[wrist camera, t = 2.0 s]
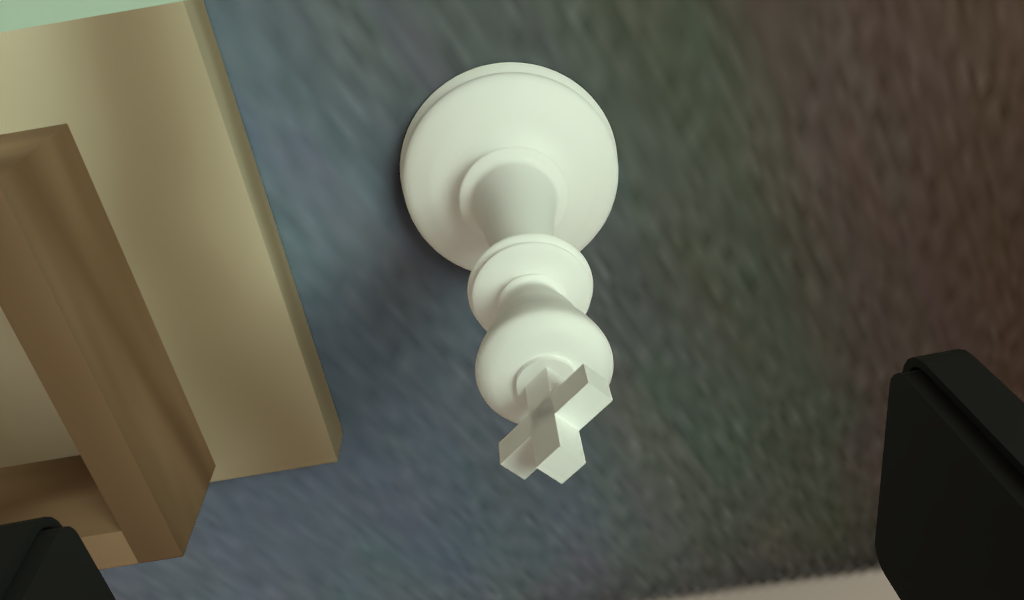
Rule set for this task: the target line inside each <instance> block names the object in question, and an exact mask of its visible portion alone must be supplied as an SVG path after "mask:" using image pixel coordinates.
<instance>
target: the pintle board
mask: <svg viewBox="0 0 1024 600" xmlns="http://www.w3.org/2000/svg"><path fill="white" fill-rule="evenodd" d="M342 434H343V430H342V427H341V424H340V421H339V418H338V415H337V412H336V409H335V406H334V403H333V400H332V397H331V393H330V390H329V387H328V384H327V381H326V378H325V375H324V372H323V369H322V366H321V363H320V359H319V356H318V353H317V350H316V347H315V344H314V341H313V338H312V335H311V332H310V329H309V326H308V322H307V319H306V316H305V313H304V310H303V307H302V304H301V301H300V298H299V295H298V292H297V289H296V285H295V282H294V279H293V276H292V273H291V270H290V267H289V264H288V261H287V258H286V255H285V251H284V248H283V245H282V242H281V239H280V236H279V233H278V230H277V227H276V224H275V221H274V218H273V214H272V211H271V208H270V205H269V202H268V199H267V196H266V193H265V190H264V187H263V184H262V181H261V177H260V174H259V171H258V168H257V165H256V162H255V159H254V156H253V153H252V150H251V147H250V143H249V140H248V137H247V134H246V131H245V128H244V125H243V122H242V119H241V116H240V113H239V110H238V106H237V103H236V100H235V97H234V94H233V91H232V88H231V85H230V82H229V79H228V76H227V73H226V69H225V66H224V63H223V60H222V57H221V54H220V51H219V48H218V45H217V42H216V39H215V35H214V32H213V29H212V26H211V23H210V20H209V17H208V14H207V11H206V8H205V5H204V2H203V0H186V1H180V2H174V3H168V4H162V5H157V6H151V7H145V8H139V9H133V10H127V11H122V12H116V13H110V14H104V15H98V16H93V17H87V18H81V19H75V20H69V21H63V22H58V23H52V24H46V25H40V26H34V27H29V28H23V29H17V30H11V31H5V32H0V525H2V524H8V523H13V522H19V521H24V520H30V519H35V518H41V517H53V518H54V519H56V520H58V521H59V523H60V524H61V525H62V526H63V527H64V526H70V527H72V528H73V529H75V530H76V532H77V533H78V534H79V536H80V538H81V540H82V541H83V543H84V545H85V547H86V548H87V550H88V552H89V554H90V555H91V557H92V559H93V561H94V562H95V564H96V566H97V568H98V569H99V570H101V569H107V568H113V567H120V566H126V565H132V564H138V563H144V562H151V561H157V560H163V559H169V558H176V557H182V556H183V555H184V552H185V550H186V547H187V544H188V541H189V538H190V536H191V533H192V530H193V527H194V525H195V522H196V519H197V516H198V514H199V511H200V508H201V505H202V503H203V500H204V497H205V494H206V491H207V489H208V486H209V483H210V482H215V481H221V480H227V479H234V478H240V477H246V476H252V475H258V474H264V473H271V472H277V471H283V470H289V469H295V468H302V467H308V466H314V465H320V464H326V463H332V462H338V457H339V452H340V446H341V440H342Z"/></svg>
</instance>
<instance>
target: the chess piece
mask: <svg viewBox="0 0 1024 600" xmlns="http://www.w3.org/2000/svg"><path fill="white" fill-rule="evenodd" d="M400 179H401V186H402V191H403V195H404V198H405V202H406V206H407V209H408V211H409V214H410V216H411V219H412V220H413V222H414V224H415V226H416V228H417V229H418V231H419V232H420V234H421V235H422V236H423V238H424V239H425V240H426V241H427V242H428V243H429V245H430V246H432V247H433V248H434V249H435V250H436V251H437V252H438V253H439V254H441V255H442V256H443V257H445V258H446V259H448V260H449V261H451V262H453V263H454V264H456V265H458V266H460V267H462V268H465V269H467V270H470V271H471V273H470V276H469V280H468V287H467V295H468V301H469V305H470V308H471V310H472V312H473V314H474V316H475V318H476V319H477V320H478V322H479V323H480V324H481V326H482V327H483V328H484V329H485V330H486V331H487V333H486V335H485V337H484V339H483V341H482V343H481V345H480V348H479V351H478V354H477V357H476V363H475V377H476V383H477V386H478V389H479V391H480V393H481V395H482V397H483V399H484V400H485V402H486V403H487V404H488V405H489V406H490V407H491V408H492V409H493V410H494V411H495V412H496V413H498V414H499V415H501V416H502V417H504V418H506V419H508V420H510V421H512V422H515V423H518V425H517V426H516V427H515V428H514V429H513V430H512V431H511V432H510V433H509V434H508V435H507V436H506V437H504V438H503V439H502V440H501V441H500V442H499V455H500V465H502V466H504V467H505V468H507V469H508V470H510V471H512V472H513V473H515V474H516V475H518V476H520V477H521V478H523V479H524V480H525V479H526V478H527V477H528V476H529V475H530V474H532V473H533V472H534V471H535V470H536V469H537V468H538V469H539V470H541V471H542V472H544V473H546V474H547V475H549V476H550V477H552V478H553V479H555V480H556V481H558V482H560V483H561V484H563V483H564V482H565V481H566V480H567V479H568V478H569V477H570V476H572V475H573V474H574V473H575V472H576V471H577V470H578V469H580V468H581V467H582V466H583V465H584V464H585V463H586V461H585V456H584V452H583V447H582V442H581V438H580V433H579V430H580V429H581V428H583V427H584V426H585V425H586V424H587V423H588V422H589V421H590V420H591V419H592V418H594V417H595V416H596V415H597V414H598V413H599V412H600V411H601V410H602V409H604V408H605V407H606V406H607V405H608V404H609V403H610V402H611V401H612V400H613V399H612V396H611V392H610V389H609V384H610V382H611V378H612V374H613V355H612V350H611V347H610V345H609V342H608V340H607V338H606V337H605V335H604V334H603V332H602V331H601V330H600V328H599V327H598V326H597V325H596V324H595V323H594V322H593V321H592V320H591V319H590V318H589V317H588V316H587V315H586V313H587V311H588V308H589V305H590V301H591V298H592V293H593V278H592V273H591V270H590V267H589V265H588V263H587V261H586V259H585V258H584V256H583V255H582V254H581V253H580V251H581V250H582V249H583V248H584V247H585V246H586V245H588V244H589V242H590V241H591V240H592V239H593V238H594V237H595V236H596V234H597V233H598V232H599V230H600V229H601V227H602V226H603V224H604V223H605V221H606V219H607V217H608V215H609V213H610V211H611V208H612V205H613V202H614V199H615V195H616V191H617V184H618V160H617V150H616V144H615V139H614V136H613V133H612V130H611V127H610V125H609V122H608V120H607V118H606V117H605V115H604V113H603V111H602V110H601V108H600V107H599V105H598V104H597V103H596V102H595V100H594V99H593V98H592V97H591V96H590V95H589V94H588V93H587V92H586V91H585V90H584V89H583V88H582V87H581V86H579V85H578V84H577V83H575V82H574V81H572V80H571V79H569V78H568V77H566V76H564V75H562V74H560V73H558V72H556V71H553V70H551V69H548V68H545V67H542V66H538V65H533V64H527V63H517V62H505V63H495V64H489V65H484V66H480V67H477V68H474V69H471V70H469V71H466V72H464V73H462V74H460V75H458V76H456V77H454V78H452V79H451V80H449V81H448V82H446V83H445V84H443V85H442V86H441V87H439V88H438V89H437V90H436V91H435V92H434V93H432V94H431V96H430V97H429V98H428V99H427V100H426V101H425V102H424V103H423V104H422V106H421V107H420V108H419V110H418V111H417V113H416V114H415V116H414V118H413V119H412V121H411V123H410V125H409V127H408V130H407V132H406V135H405V138H404V142H403V145H402V150H401V157H400Z"/></svg>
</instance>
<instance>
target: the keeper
mask: <svg viewBox="0 0 1024 600" xmlns="http://www.w3.org/2000/svg"><path fill="white" fill-rule="evenodd" d="M180 1H186V0H0V32H5V31H11V30H17V29H23V28H29V27H34V26H40V25H46V24H52V23H58V22H63V21H69V20H75V19H81V18H87V17H93V16H98V15H104V14H110V13H116V12H122V11H127V10H133V9H139V8H145V7H151V6H157V5H162V4H168V3H174V2H180Z"/></svg>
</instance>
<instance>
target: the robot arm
mask: <svg viewBox="0 0 1024 600" xmlns="http://www.w3.org/2000/svg"><path fill="white" fill-rule="evenodd" d="M875 547H876V553H877V557H878V560H879V563H880V566H881V568H882V570H883V572H884V574H885V576H886V577H887V579H888V580H889V582H890V583H891V585H892V586H893V588H894V590H895V591H896V593H897V594H898V596H899V598H900V599H901V600H1024V403H1023V402H1022V401H1021V400H1020V399H1019V398H1018V397H1017V396H1016V395H1014V394H1013V393H1012V392H1011V391H1010V390H1009V389H1008V388H1007V387H1006V386H1005V385H1004V384H1003V383H1002V382H1001V381H1000V380H998V379H997V378H996V377H995V376H994V375H993V374H992V373H991V372H990V371H989V370H988V369H987V368H986V367H985V366H983V365H982V364H981V363H980V362H979V361H978V360H977V359H976V358H975V357H974V356H973V355H971V354H970V353H969V352H967V351H966V350H961V349H956V350H951V351H945V352H940V353H934V354H929V355H924V356H918V357H913V358H910V359H908V360H907V361H906V363H905V365H904V368H903V372H902V373H897V374H895V375H893V377H892V378H891V382H890V388H889V399H888V410H887V420H886V431H885V441H884V452H883V463H882V473H881V484H880V495H879V505H878V516H877V527H876V537H875ZM0 600H116V599H115V598H114V596H113V594H112V592H111V591H110V589H109V587H108V585H107V584H106V582H105V580H104V578H103V577H102V575H101V573H100V571H99V569H98V568H97V566H96V564H95V562H94V561H93V559H92V557H91V555H90V554H89V552H88V550H87V548H86V547H85V545H84V543H83V541H82V540H81V538H80V536H79V534H78V533H77V532H76V530H75V529H73V528H72V527H70V526H64V527H63V526H62V525H61V524H60V523H59V521H58V520H56V519H54V518H53V517H41V518H35V519H30V520H24V521H19V522H13V523H8V524H2V525H0Z"/></svg>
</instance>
